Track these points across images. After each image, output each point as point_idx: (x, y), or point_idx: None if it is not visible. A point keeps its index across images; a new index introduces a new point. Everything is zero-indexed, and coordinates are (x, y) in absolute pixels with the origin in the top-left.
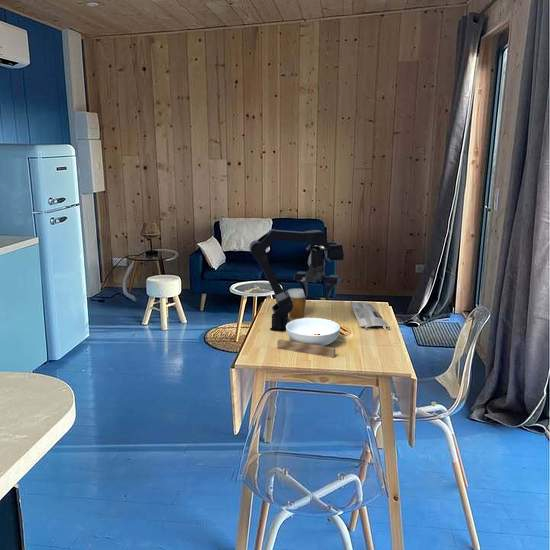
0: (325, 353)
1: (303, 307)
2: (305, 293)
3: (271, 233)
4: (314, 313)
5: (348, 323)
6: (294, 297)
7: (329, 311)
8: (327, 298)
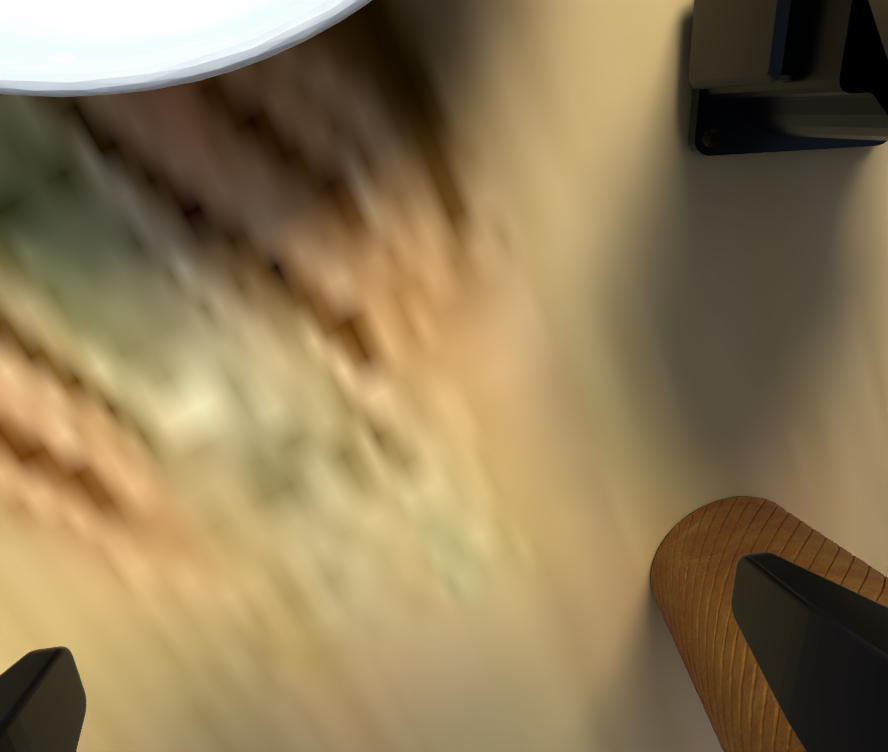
0: None
1: (706, 651)
2: (836, 608)
3: None
4: (582, 731)
5: (105, 660)
6: None
7: None
8: (2, 673)
